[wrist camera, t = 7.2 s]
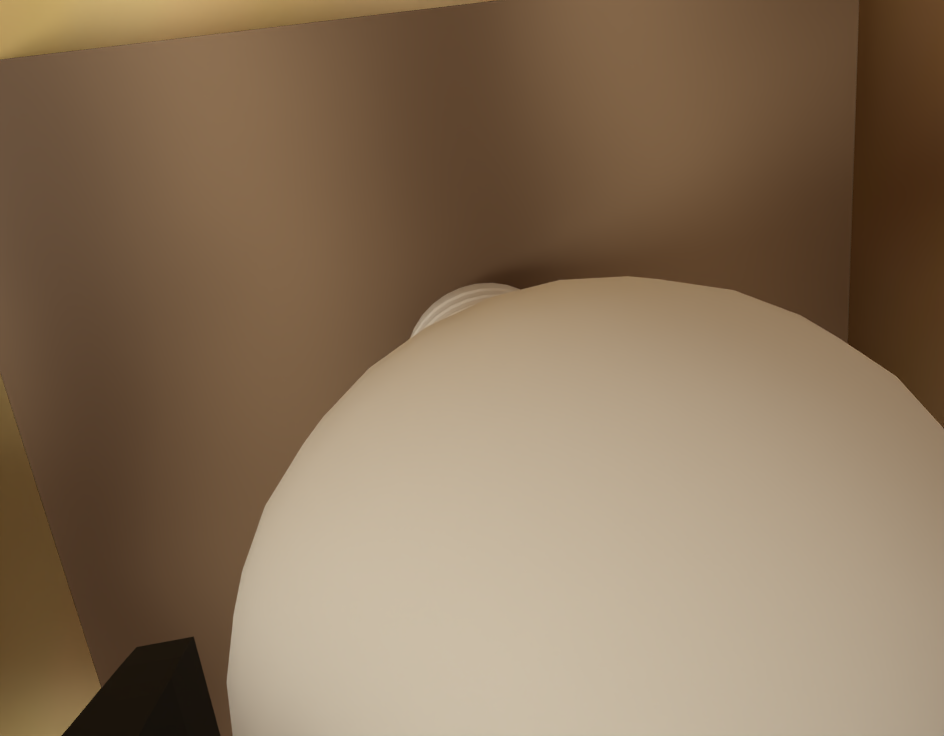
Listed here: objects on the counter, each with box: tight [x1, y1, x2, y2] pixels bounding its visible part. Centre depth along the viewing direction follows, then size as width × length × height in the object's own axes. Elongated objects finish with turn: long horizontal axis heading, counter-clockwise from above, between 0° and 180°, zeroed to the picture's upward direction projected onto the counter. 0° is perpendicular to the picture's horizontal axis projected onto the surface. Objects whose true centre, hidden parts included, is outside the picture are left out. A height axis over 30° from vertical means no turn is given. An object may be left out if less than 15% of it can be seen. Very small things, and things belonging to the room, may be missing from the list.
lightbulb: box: [226, 276, 944, 736], centre depth 9 cm, size 6×6×11 cm
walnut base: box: [0, 0, 859, 736], centre depth 16 cm, size 14×14×2 cm
